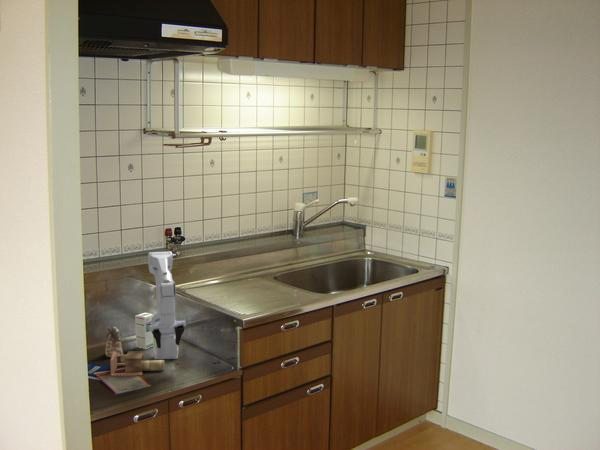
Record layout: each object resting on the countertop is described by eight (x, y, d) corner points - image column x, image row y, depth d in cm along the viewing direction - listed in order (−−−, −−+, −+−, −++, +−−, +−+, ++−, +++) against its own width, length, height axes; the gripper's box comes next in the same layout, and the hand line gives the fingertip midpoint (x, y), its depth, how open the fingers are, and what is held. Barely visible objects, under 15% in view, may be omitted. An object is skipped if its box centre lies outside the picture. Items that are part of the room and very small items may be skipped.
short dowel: (141, 363, 288) (141, 356, 289) (140, 359, 285) (140, 352, 287) (121, 364, 287) (121, 356, 289) (120, 360, 284) (120, 353, 286)
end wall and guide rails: (145, 364, 284) (144, 349, 283) (142, 375, 272) (141, 360, 271) (114, 365, 283) (114, 350, 282) (110, 376, 271) (109, 361, 270)
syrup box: (145, 349, 301) (145, 317, 299) (135, 347, 305) (134, 314, 302) (155, 346, 306) (154, 313, 304) (145, 343, 309) (144, 311, 307)
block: (143, 365, 282) (143, 351, 282) (141, 373, 274) (140, 358, 273) (128, 365, 282) (127, 351, 281) (125, 373, 273) (125, 359, 272)
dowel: (164, 366, 281) (164, 357, 279) (164, 372, 277) (163, 364, 276) (135, 367, 280) (134, 358, 278) (134, 373, 276) (133, 364, 274)
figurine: (120, 357, 292) (119, 329, 290) (103, 357, 292) (102, 329, 290) (125, 351, 299) (124, 324, 297) (108, 351, 299) (107, 324, 297)
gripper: (153, 317, 269) (154, 351, 271) (188, 312, 276) (189, 345, 278) (147, 313, 275) (147, 346, 277) (182, 308, 282) (182, 341, 284)
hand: (168, 346), depth 278 cm, fingers open, 7 cm apart
